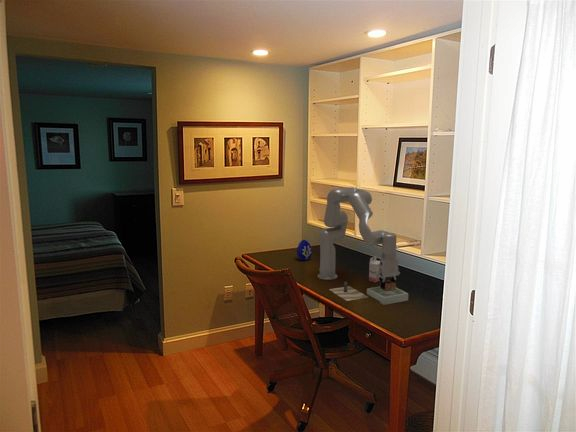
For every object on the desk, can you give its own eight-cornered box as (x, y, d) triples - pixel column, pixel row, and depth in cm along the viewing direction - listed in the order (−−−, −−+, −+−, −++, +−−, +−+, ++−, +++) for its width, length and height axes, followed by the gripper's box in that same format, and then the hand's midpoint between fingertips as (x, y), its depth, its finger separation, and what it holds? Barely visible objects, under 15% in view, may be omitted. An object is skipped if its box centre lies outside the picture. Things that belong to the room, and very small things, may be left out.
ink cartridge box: (375, 283, 275) (376, 259, 272) (368, 281, 278) (369, 258, 275) (382, 279, 281) (383, 256, 279) (375, 278, 284) (376, 255, 282)
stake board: (328, 291, 261) (328, 280, 260) (349, 287, 266) (349, 277, 265) (346, 302, 243) (347, 291, 242) (368, 298, 248) (369, 287, 247)
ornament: (300, 262, 319) (300, 241, 316) (294, 259, 327) (294, 239, 324) (313, 260, 324) (314, 240, 322) (307, 257, 332) (307, 237, 329)
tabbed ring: (386, 291, 245) (386, 284, 244) (377, 286, 252) (377, 280, 252) (395, 290, 247) (395, 283, 246) (386, 285, 255) (386, 278, 254)
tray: (366, 295, 254) (366, 288, 253) (390, 291, 260) (390, 284, 259) (383, 305, 239) (384, 297, 239) (408, 300, 246) (408, 293, 245)
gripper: (379, 259, 238) (378, 291, 242) (405, 255, 245) (404, 287, 249) (371, 255, 245) (370, 287, 248) (397, 252, 252) (396, 283, 255)
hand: (387, 287), depth 248 cm, fingers closed on tabbed ring, 5 cm apart
